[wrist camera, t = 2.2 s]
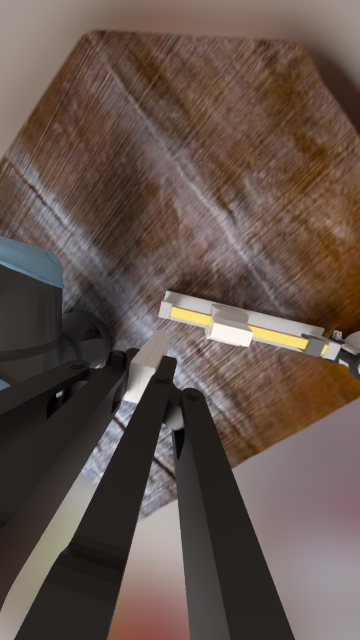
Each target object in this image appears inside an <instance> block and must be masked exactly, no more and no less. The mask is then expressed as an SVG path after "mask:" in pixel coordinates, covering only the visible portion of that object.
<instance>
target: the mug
mask: <svg viewBox="0 0 360 640" xmlns="http://www.w3.org/2000/svg"><path fill="white" fill-rule="evenodd" d="M345 341H347V342H348V345H349V347H352V348H354V349H356V350H358V351H360V331H358V332H355V333H353V334H350V335H349V336H348V337H346V339H345Z"/></svg>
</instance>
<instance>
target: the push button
mask: <svg viewBox="0 0 360 640" xmlns="http://www.w3.org/2000/svg"><path fill="white" fill-rule="evenodd" d="M335 332H337V333H336V334H335ZM339 333H340V335H338V334H339ZM341 335H342V332H338V331H334V334H333V336H332V338H329V340H331V341H334V342H336V343H338V344H340V345H342V346H341V348H340V350H339V352H338V354H337V356H336V358H335V360H331V359H327V358H326V359H327V360H329V361H330V362H332V363H341V364H344V365H346V366H347V367H349V371H350V373H351V374H353V375H354V377H355V378H356V379H358V380H359V381H360V375H359V374H360V351H358V350H356V349H354V348H352V347H349V345H348V342H347V341H345V340H343V339H342V337H341Z"/></svg>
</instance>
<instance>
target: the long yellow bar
mask: <svg viewBox="0 0 360 640" xmlns="http://www.w3.org/2000/svg"><path fill="white" fill-rule="evenodd" d="M170 316H172V317H176V318H180V319H184V320H188V321H192V322H196V323H200V324H204V325H208V326H209V323H210V319H211V316H212V315H210V314H206V313H202V312H198V311H194V310H190V309H186V308H182V307H178V306H172V307H171V312H170ZM246 326H247V327H249V328H250V329H251V330H252V331H253V332H254V333H253V337H257V338H261V339H265V340H269V341H273V342H277V343H281V344H285V345H289V346H293V347H296V348H298V349H299V350H301V351H302V352H304V353H305V354H309V355H313V356H317V357H319V356H320V354H324V353H325V351H326V349H327V347H328V345H327V344H326V341H324V340H322V339H319V338H317V337H315V336H312V335H307V334H303V333H302V334H301V337H300V336H296V335H292V334H288V333H284V332H280V331H276V330H272V329H268V328H264V327H259V326H255V325H251V324H247V325H246Z"/></svg>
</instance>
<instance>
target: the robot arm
mask: <svg viewBox="0 0 360 640" xmlns="http://www.w3.org/2000/svg"><path fill="white" fill-rule="evenodd" d="M63 288H64V284H63V276H62V263H61V261H60V259H59V258H58V257H57V256H56V255H55V254H53V253H51V252H49V251H46V250H43V249H40V248H37V247H34V246H31V245H28V244H24V243H21V242H18V241H15V240H12V239H8V238H5V237H2V236H0V611H1V608H2V606H3V604H4V601H5V599H6V596H7V594H8V592H9V590H10V588H11V586H12V584H13V583H14V581H15V579H16V577H17V576H18V574H19V572H20V571H21V569H22V567H23V566H24V564H25V562H26V561H27V559H28V557H29V556H30V554H31V552H32V551H33V549H34V548H35V546H36V544H37V543H38V541H39V539H40V538H41V536H42V534H43V533H44V531H45V529H46V528H47V526H48V524H49V523H50V521H51V519H52V518H53V516H54V515H55V513H56V511H57V509H58V508H59V506H60V504H61V503H62V501H63V500H64V498H65V496H66V495H67V493H68V491H69V490H70V488H71V487H72V485H73V483H74V482H75V480H76V478H77V477H78V475H79V473H80V472H81V470H82V468H83V467H84V465H85V463H86V462H87V460H88V458H89V457H90V455H91V453H92V452H93V450H94V448H95V447H96V445H97V444H98V442H99V440H100V439H101V437H102V435H103V434H104V432H105V430H106V429H107V427H108V425H109V424H110V422H111V420H112V419H113V417H114V415H115V414H116V412H117V410H118V409H119V407H120V405H121V402H122V397H123V396H124V394H125V397H124V400H127V401H130V402H134V403H138V405H137V407H136V409H135V411H134V413H133V415H132V417H131V419H130V421H129V423H128V425H127V427H126V429H125V431H124V433H123V435H122V437H121V439H120V442H119V444H118V446H117V448H116V450H115V452H114V454H113V456H112V458H111V460H110V462H109V464H108V466H107V468H106V470H105V472H104V474H103V476H102V478H101V481H100V483H99V485H98V487H97V489H96V491H95V493H94V495H93V497H92V499H91V501H90V503H89V506H88V507H87V509H86V512H85V513H84V515H83V518H82V520H81V522H80V524H79V526H78V528H77V530H76V532H75V534H74V536H73V538H72V540H71V542H70V543H69V545H68V546H67V547H66V549H64V550H63V551H62V552H61V553H60V555H59V556H58V558H57V559H56V561H55V562H54V564H53V566H52V568H51V569H50V571H49V573H48V575H47V577H46V579H45V580H44V582H43V584H42V586H41V588H40V590H39V592H38V594H37V596H36V598H35V600H34V602H33V604H32V606H31V608H30V610H29V612H28V614H27V615H26V617H25V619H24V621H23V623H22V625H21V627H20V629H19V631H18V633H17V635H16V637H15V639H14V640H107V638H108V635H109V631H110V627H111V623H112V619H113V615H114V611H115V607H116V603H117V598H118V595H119V591H120V587H121V583H122V579H123V575H124V571H125V567H126V563H127V560H128V556H129V552H130V547H131V544H132V539H133V536H134V532H135V528H136V524H137V520H138V516H139V512H140V508H141V504H142V500H143V496H144V493H145V489H146V485H147V481H148V477H149V473H150V469H151V465H152V461H153V457H154V453H155V449H156V445H157V441H158V437H159V433H160V429H161V426H162V423H164V424H166V425H167V426H169V427H170V428H172V441H173V452H174V463H175V474H176V485H177V496H178V507H179V518H180V529H181V539H182V551H183V561H184V574H185V585H186V596H187V606H188V617H189V629H190V640H295V638H294V636H293V633H292V630H291V628H290V625H289V622H288V620H287V617H286V614H285V612H284V609H283V607H282V604H281V601H280V598H279V595H278V593H277V590H276V588H275V585H274V582H273V579H272V577H271V574H270V572H269V569H268V566H267V563H266V561H265V558H264V555H263V553H262V550H261V547H260V545H259V542H258V539H257V537H256V534H255V531H254V528H253V526H252V523H251V521H250V518H249V515H248V513H247V510H246V507H245V504H244V502H243V499H242V496H241V494H240V491H239V488H238V486H237V483H236V480H235V478H234V475H233V472H232V470H231V467H230V464H229V461H228V459H227V456H226V453H225V451H224V448H223V445H222V443H221V440H220V437H219V435H218V432H217V429H216V427H215V424H214V421H213V419H212V416H211V413H210V411H209V408H208V405H207V403H206V400H205V397H204V395H203V394H202V393H201V392H200V391H199V390H197V389H194V388H185V389H184V390H183V391H182V390H180V389H178V388H177V387H176V386H175V385H174V384H173V377H174V373H175V369H176V365H177V360H176V358H173V357H169V356H167V352H168V348H169V344H170V339H171V335H172V334H170V333H166V332H162V331H158V330H156V331H155V332H154V334H153V335H152V336H151V337H150V339H149V340H148V341H147V342H146V344H145V345H144V346H143V347H142V348H141V350H140V349H136V348H130V349H128V350H127V351H126V352H124V351H119V350H113V351H111V350H112V340H111V336H110V333H109V331H108V329H107V327H106V326H105V325H104V323H103V322H102V321H101V320H100V319H98V318H97V317H95V316H94V315H92V314H90V313H87V312H83V311H74V312H69V313H66V314H63V315H62V293H63ZM105 362H106V365H105V366H104V367H103V368H99V367H100V366H101V365H102V364H104V363H105ZM60 391H62V395H61V396H59V397H57V398H56V394H57V393H59V392H60Z"/></svg>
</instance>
